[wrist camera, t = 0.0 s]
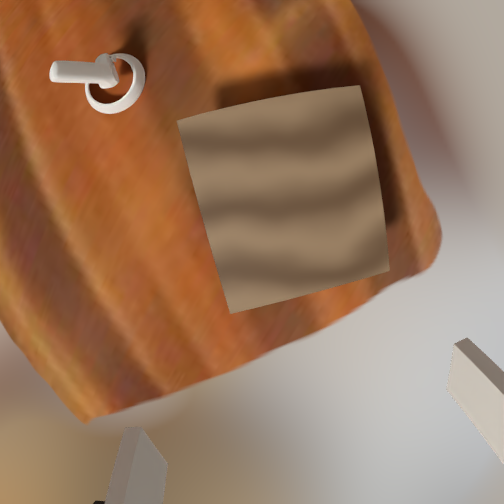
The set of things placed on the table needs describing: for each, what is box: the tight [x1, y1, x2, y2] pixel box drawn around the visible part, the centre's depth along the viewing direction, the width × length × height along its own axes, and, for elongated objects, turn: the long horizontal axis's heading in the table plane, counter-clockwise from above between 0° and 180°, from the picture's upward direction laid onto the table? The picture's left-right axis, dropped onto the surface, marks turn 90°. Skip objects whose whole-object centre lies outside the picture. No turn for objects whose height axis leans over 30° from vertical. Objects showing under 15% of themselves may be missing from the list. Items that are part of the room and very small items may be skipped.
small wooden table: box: [177, 85, 390, 314], centre depth 33 cm, size 20×18×6 cm
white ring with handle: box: [50, 53, 145, 114], centre depth 28 cm, size 8×12×7 cm
